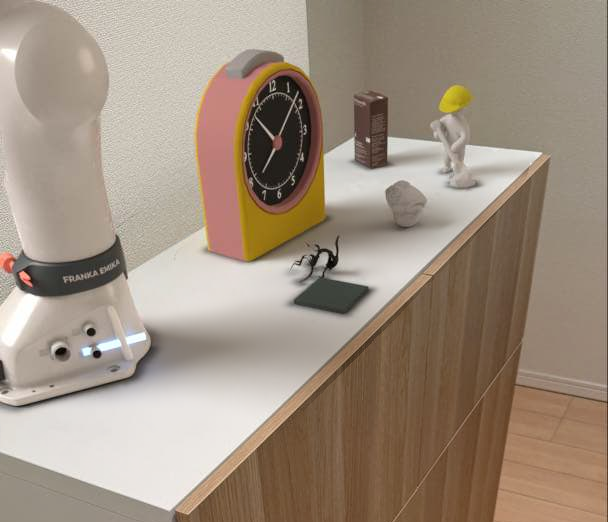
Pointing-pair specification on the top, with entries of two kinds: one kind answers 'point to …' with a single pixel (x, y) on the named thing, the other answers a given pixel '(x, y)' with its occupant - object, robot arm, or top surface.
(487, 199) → the top surface
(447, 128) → the figurine
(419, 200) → the white rounded lump
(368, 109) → the box
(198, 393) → the top surface
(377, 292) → the top surface
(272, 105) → the alarm clock
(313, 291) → the coaster pad
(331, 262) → the creature
